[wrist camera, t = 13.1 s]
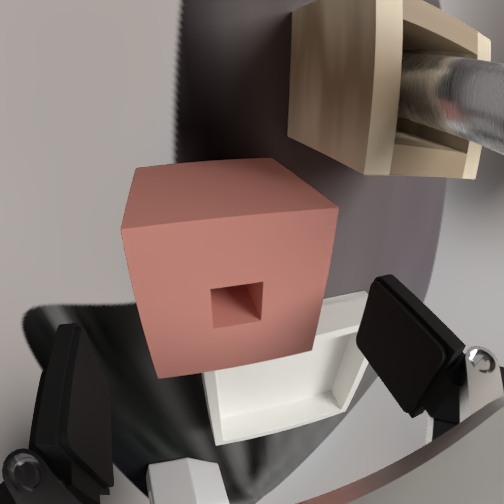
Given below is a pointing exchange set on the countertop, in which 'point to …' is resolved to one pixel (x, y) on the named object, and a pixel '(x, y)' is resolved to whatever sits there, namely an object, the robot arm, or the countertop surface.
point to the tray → (291, 380)
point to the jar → (185, 482)
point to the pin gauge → (454, 96)
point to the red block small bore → (226, 262)
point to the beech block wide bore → (374, 85)
